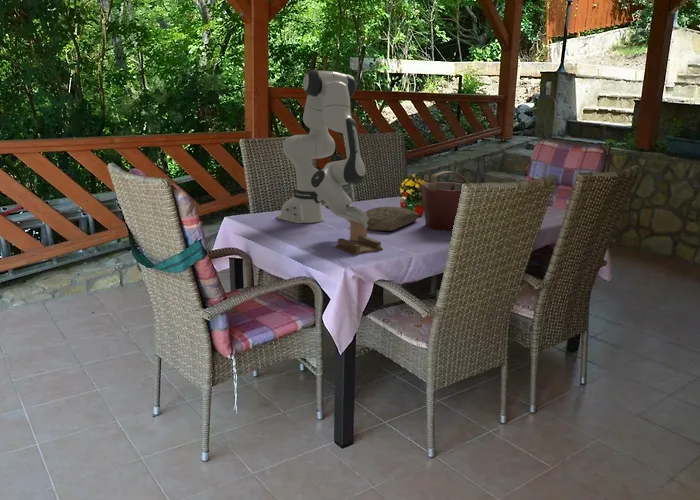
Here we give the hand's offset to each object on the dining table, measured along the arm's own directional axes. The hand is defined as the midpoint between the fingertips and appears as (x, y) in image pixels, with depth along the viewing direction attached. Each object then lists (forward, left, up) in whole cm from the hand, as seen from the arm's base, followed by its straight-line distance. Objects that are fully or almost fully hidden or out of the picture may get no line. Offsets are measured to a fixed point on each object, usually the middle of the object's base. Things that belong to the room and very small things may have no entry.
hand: (359, 224), depth 259 cm
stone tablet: (-3, +31, -7) cm, 32 cm away
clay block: (0, 0, -6) cm, 6 cm away
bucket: (+20, +44, -7) cm, 49 cm away
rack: (+7, -12, -6) cm, 15 cm away
